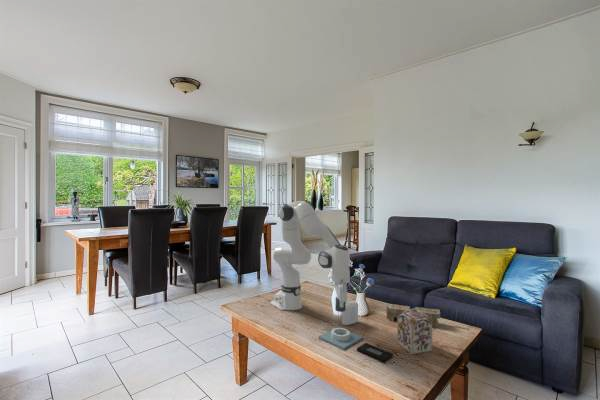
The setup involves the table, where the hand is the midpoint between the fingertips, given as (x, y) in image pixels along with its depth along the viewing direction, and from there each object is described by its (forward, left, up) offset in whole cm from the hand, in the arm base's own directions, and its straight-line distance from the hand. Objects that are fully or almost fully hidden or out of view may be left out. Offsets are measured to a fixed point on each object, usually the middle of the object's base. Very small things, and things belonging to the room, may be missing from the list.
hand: (340, 304), depth 152 cm
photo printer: (-8, +19, -18) cm, 27 cm away
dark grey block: (0, 0, -3) cm, 3 cm away
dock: (0, 0, -18) cm, 18 cm away
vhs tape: (+20, 0, -18) cm, 27 cm away
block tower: (+15, +48, -18) cm, 54 cm away
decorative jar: (+30, +19, -18) cm, 40 cm away
